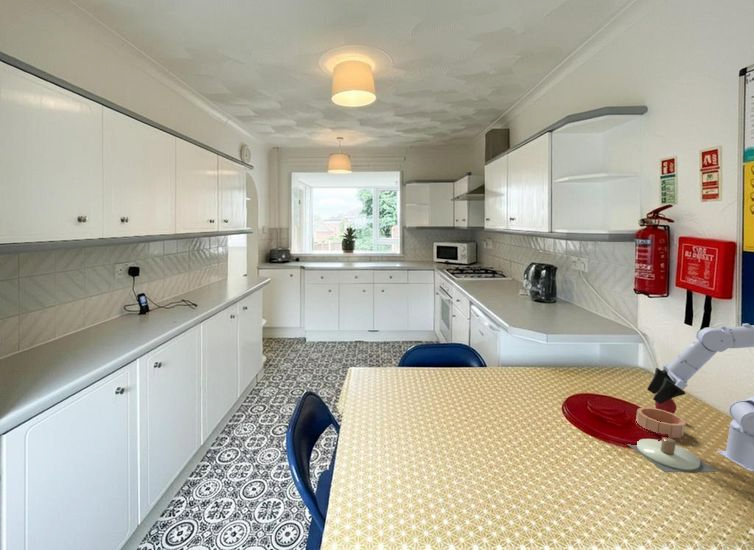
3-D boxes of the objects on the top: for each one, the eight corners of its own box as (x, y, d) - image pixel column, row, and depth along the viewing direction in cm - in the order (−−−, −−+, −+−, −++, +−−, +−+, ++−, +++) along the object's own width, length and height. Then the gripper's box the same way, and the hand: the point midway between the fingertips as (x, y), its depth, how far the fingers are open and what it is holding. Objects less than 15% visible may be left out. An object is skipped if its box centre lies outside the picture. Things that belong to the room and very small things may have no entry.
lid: (714, 470, 100) (716, 454, 100) (664, 470, 99) (666, 454, 98) (668, 441, 114) (670, 427, 114) (624, 441, 113) (626, 427, 112)
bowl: (693, 439, 117) (695, 425, 117) (656, 439, 116) (658, 425, 115) (660, 420, 129) (662, 407, 128) (627, 420, 128) (628, 407, 127)
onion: (678, 421, 129) (681, 398, 128) (659, 419, 130) (662, 396, 129) (669, 414, 135) (672, 391, 134) (650, 411, 136) (653, 389, 135)
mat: (717, 473, 100) (717, 471, 100) (664, 473, 98) (664, 471, 98) (668, 442, 115) (668, 440, 114) (621, 441, 113) (621, 440, 113)
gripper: (667, 347, 118) (635, 379, 123) (682, 361, 105) (646, 396, 110) (690, 362, 116) (657, 393, 121) (708, 378, 103) (670, 413, 108)
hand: (653, 396), depth 115 cm, fingers open, 7 cm apart
